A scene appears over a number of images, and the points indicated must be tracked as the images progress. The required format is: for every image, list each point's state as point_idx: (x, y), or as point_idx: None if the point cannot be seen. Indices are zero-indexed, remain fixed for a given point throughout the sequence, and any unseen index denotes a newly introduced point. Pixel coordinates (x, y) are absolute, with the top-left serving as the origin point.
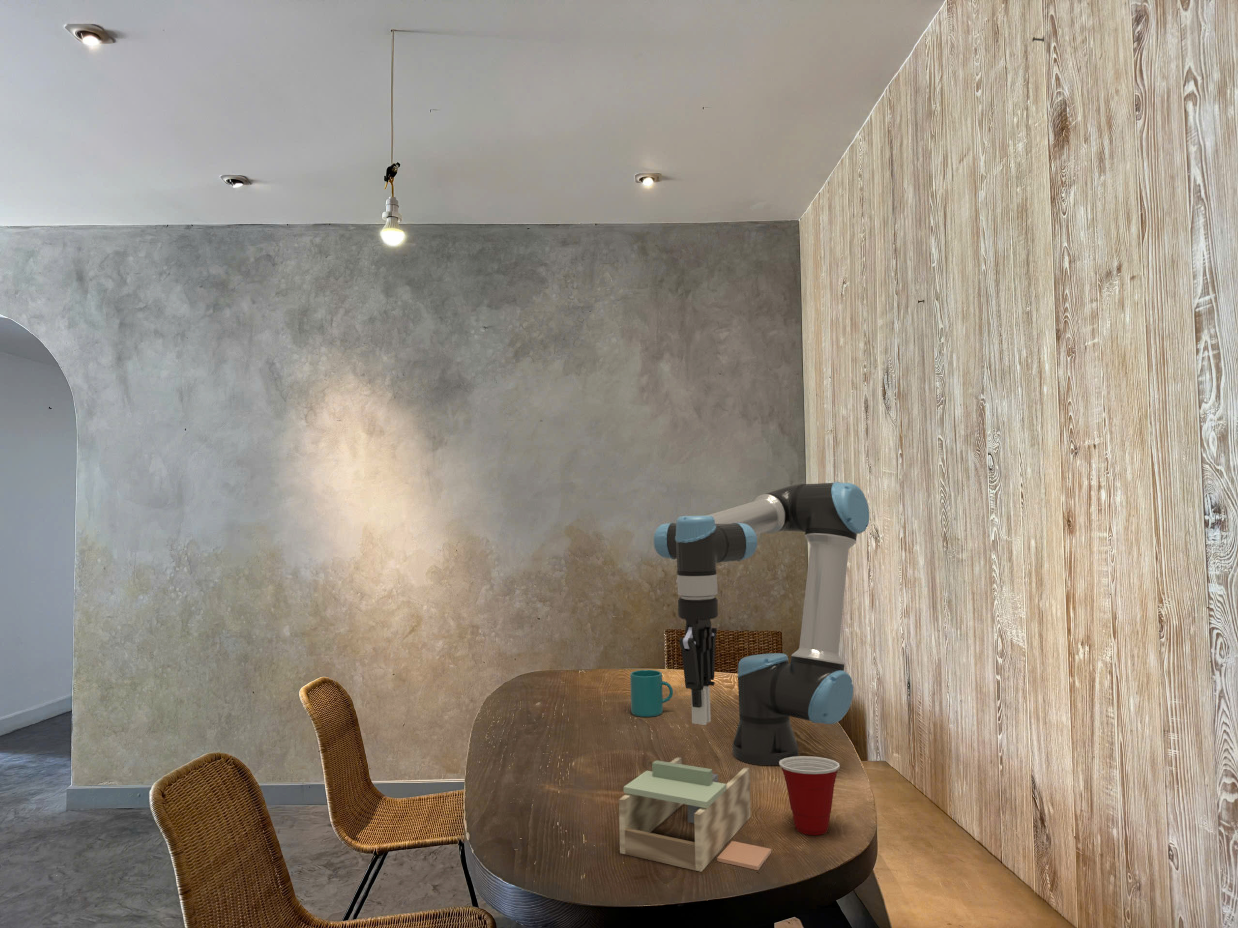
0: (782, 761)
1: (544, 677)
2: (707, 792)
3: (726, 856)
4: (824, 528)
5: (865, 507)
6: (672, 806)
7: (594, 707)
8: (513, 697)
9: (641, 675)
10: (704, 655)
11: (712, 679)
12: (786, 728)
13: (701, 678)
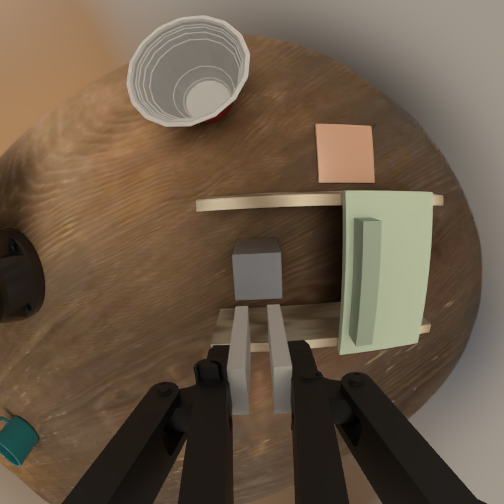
0: (187, 121)
1: (48, 499)
2: (398, 207)
3: (366, 172)
4: None
5: None
6: (258, 310)
7: (55, 468)
8: None
9: (8, 454)
10: (227, 501)
11: (175, 384)
12: None
13: (321, 402)
